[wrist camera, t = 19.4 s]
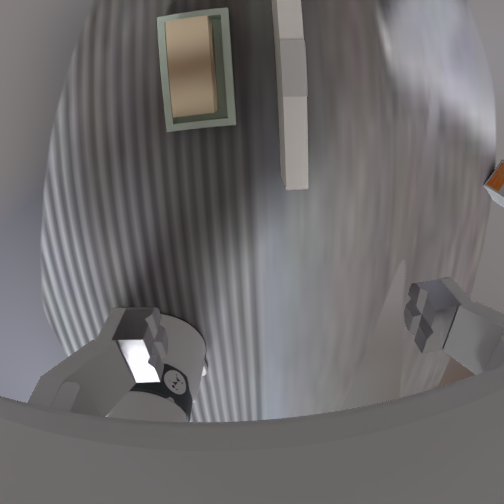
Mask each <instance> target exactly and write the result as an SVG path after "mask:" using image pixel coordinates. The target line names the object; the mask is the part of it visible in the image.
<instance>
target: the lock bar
mask: <svg viewBox="0 0 504 504" xmlns="http://www.w3.org/2000/svg"><path fill="white" fill-rule="evenodd" d="M165 28H166V44H167V58H168V71H169V83H170V94H171V104H172V114H173V118H174V117H182V116H190V115H198V114H208V113H215V112H216V111H217V110H219V103H218V90H217V77H216V63H215V49H214V34H213V26H212V24H211V22H210V20H209V18H208V16H207V15H206V16H198V17H191V18H184V19H177V20H172V21H166V22H165Z"/></svg>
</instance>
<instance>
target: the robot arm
mask: <svg viewBox="0 0 504 504" xmlns="http://www.w3.org/2000/svg"><path fill="white" fill-rule="evenodd" d="M408 295H409V296H410V298H411V299H410V301H409V302H408V303H407V304H406V306H405V311H404V319H405V324H406V327H407V329H408V330H409V332H411V333H413V334H414V335H416V336H415V340H414V341H415V342H416V344H417V346H418V348H419V349H420V351H421V353H422V354H424V353H429V352H433V351H438V350H442V349H443V351H444V352H446V353H447V354H448V355H450V356H451V357H453V358H454V359H455V360H457V361H458V362H459V363H461V364H462V365H464V366H465V367H466V368H468V369H469V370H470V371H472V372H473V373H475V374H476V375H474V376H472V377H469V378H466V379H463V380H460V381H457V382H454V383H451V384H448V385H445V386H442V387H438V388H435V389H432V390H428V391H425V392H421V393H418V394H414V395H410V396H407V397H403V398H399V399H395V400H390V401H386V402H382V403H377V404H372V405H368V406H363V407H358V408H352V409H347V410H341V411H335V412H329V413H322V414H315V415H308V416H300V417H291V418H281V419H270V420H257V421H239V422H189V421H190V417H191V414H192V403H193V402H195V401H196V399H197V395H198V391H199V386H200V382H201V377H202V376H204V375H206V373H207V369H208V368H207V365H206V362H205V353H206V346H205V342H204V340H203V338H202V337H201V335H200V334H199V333H198V331H197V330H195V329H194V328H193V327H192V326H191V325H189V324H188V323H186V322H184V321H182V320H180V319H178V318H175V317H172V316H168V315H163V314H160V311H159V309H158V308H157V307H136V308H114V309H112V310H111V312H110V314H109V316H108V318H107V320H106V322H105V324H104V326H103V328H102V330H101V332H100V334H99V336H98V338H97V340H92V341H90V342H89V343H88V344H86V345H85V346H83V347H82V348H80V349H79V350H78V351H76V352H75V353H73V354H72V355H71V356H69V357H68V358H66V359H65V360H64V361H62V362H61V363H59V364H58V365H57V366H55V367H54V368H52V369H51V370H50V371H48V372H47V373H45V374H44V375H43V376H41V377H40V380H39V381H38V383H37V385H36V387H35V389H34V391H33V393H32V395H31V397H30V399H29V401H28V403H25V402H21V401H16V400H13V399H9V398H5V397H1V396H0V504H504V314H503V313H500V312H498V311H496V310H494V309H492V308H489V307H487V306H485V305H483V304H480V303H478V302H473V301H472V300H471V299H470V298H469V297H468V296H467V294H466V293H465V292H464V291H463V290H462V289H461V288H460V287H459V286H458V285H457V283H456V282H455V281H454V280H453V279H452V278H450V277H445V278H440V279H436V280H431V281H425V282H418V283H412V284H411V286H410V288H409V293H408ZM108 413H109V414H108ZM107 414H108V417H105V416H106V415H107Z"/></svg>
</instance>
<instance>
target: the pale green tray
mask: <svg viewBox="0 0 504 504" xmlns="http://www.w3.org/2000/svg"><path fill="white" fill-rule="evenodd" d="M206 15H207V16H208V18H209V20H210V22H211V24H212V26H213V34H214V49H215V63H216V77H217V90H218V103H219V110H217V111H216V112H215V113H208V114H198V115H190V116H182V117H174V118H173V114H172V104H171V94H170V83H169V71H168V58H167V44H166V28H165V22H166V21H172V20H177V19H184V18H191V17H198V16H206ZM157 29H158V45H159V59H160V71H161V83H162V93H163V103H164V113H165V122H166V130H167V132H173V131H181V130H189V129H197V128H207V127H217V126H229V125H236V123H237V121H236V107H235V93H234V79H233V65H232V50H231V36H230V21H229V11H228V7H227V8H216V9H207V10H199V11H192V12H185V13H179V14H173V15H167V16H162V17H157Z"/></svg>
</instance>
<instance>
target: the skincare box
mask: <svg viewBox="0 0 504 504" xmlns="http://www.w3.org/2000/svg"><path fill="white" fill-rule="evenodd" d="M484 186H485V188H486V189H487V191H488V193H489V194H490V196H491V198H492V199H493V201H495V202H496V203H498V204H499V205H501V206H502V207H504V160H501V162H500V164H499V165H498V166H497V168H496V169H495V171H494V172H493V173H492V175H491V176H490V177H489V179H488V180H487V181H486V182H485V184H484Z"/></svg>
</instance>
